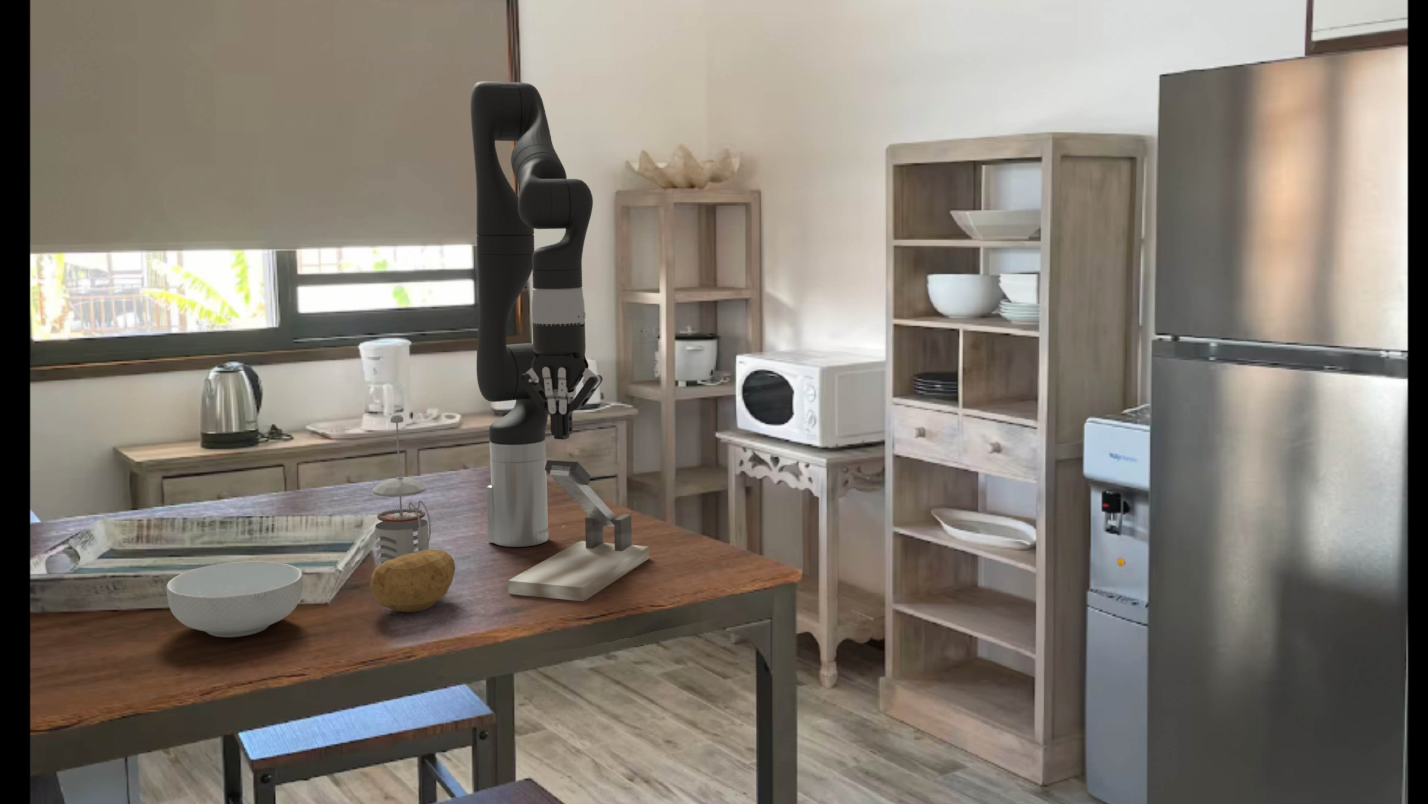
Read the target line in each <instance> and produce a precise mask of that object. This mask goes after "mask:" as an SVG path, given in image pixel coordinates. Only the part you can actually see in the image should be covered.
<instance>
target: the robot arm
mask: <svg viewBox="0 0 1428 804" xmlns="http://www.w3.org/2000/svg"><path fill="white" fill-rule="evenodd" d="M470 95H471V96H470V122H471V135H472V136H471V137H472V144H473V145H472V146H473V157H474V168H475V169H474V170H475V182H476V183H475V184H476V256H477V257H476V258H477V273H478V274H477V275H478V301H479V302H478V304H479V305H478V307H479V308H478V326H477V343H476V344H477V346H476V347H477V348H476V366H475V367H476V379H477V385H478V389H479V392H480V394H481V396H482V397H483V398H484V399H485V400H486V401H488V402H491V403H492V402H493V403H496V402H499V403H500V402H509V401H515V403H514V406H513V408H512V409H511V410H510V411H509V412H508V413H507V414H506V415H504V416H502V417H500V418H499V419H497V420H494V421H493V422H492V423H491V425H489V430H488V432H489V433H488V434H489V435H488V436H489V459H490V460H489V463H490V464H489V465H490V484H489V485H488V486H486V488H485V490H486V492H485V493H486V523H487V542H488V543H491V544H495V545H498V546H502V547H511V548H512V547H513V548H518V547H519V548H521V547H531V546H536V545H540V544H543V543H546V542H548V541H549V523H548V521H549V519H548V517H549V516H548V485H547V483H548V481H547V480H548V479H547V471H546V470H545V466H546V462H547V452H546V450H547V449H546V447H547V446H546V430H547V429H546V428H547V425H548V421H549V420H550V434H551V435H552V436H553V438H554V440H566V439H569V438H570V435H572V433H573V413H574V412H575V411H578V410H579V409H583V408H584V407H585V406H586V405H587V403H588V401H590V399H591V397H592V396H593V395H594V394H595V392H596V391H597V389H598V388H599V386H600V385H601V384H602V382H603V376H602V375H600V374H595V373H594V372H593V371H592V370H591V369H589V363H588V359H587V358H586V349H587V347H586V311H585V308H586V306H585V298H584V293H583V292H584V291H583V269H582V268H583V263H582V262H583V260H582V259H583V252H584V245H585V240H586V237H587V236H586V235H587V232H588V228H589V224H590V221H591V216H592V212H593V207H594V206H593V205H594V204H593V203H594V199H593V193H592V191H591V189H590V186H588V185H587V183H586V182H585V181H583V180H582V179H579V178H578V179H577V178H567V172H566V169H565V167H564V165H563V163H562V161H561V159H560V157H559V155H558V154H557V152H556V150H555V147H554V145H553V140H552V135H551V130H550V127H549V121H548V117H547V114H546V110H545V105H544V101H543V98H542V97H541V94H540V92H539V89H537V87H535V86H534V85H533V84H531V83H527V82H519V81H517V82H513V81H483V80H482V81H478V82H476V83H475V84H474V86H473V87H472V90H471V94H470ZM496 141H498V142H499V141H500V142H516V143H515V145H514V146H513V148H512V151H511V156H510V165H511V169H512V172H513V174H514V176H515V179H516V181H517V183H518V185H519V192H518V194H517V193H516V191H515V190H514V188H513V187H512V185H511V184H510V182H509V180H508V179H507V176H506V175H505V173H504V171H503V169H502V165H501V163H500V161H499V158H498V153H497V147H496ZM560 229H561V230H562V229H563V230H565V232H564V235H563V236H562V239H561V240H560V241H559V242H556V243H553V244H549V245H545V246H542V247H541V246H540V247H538V248H536V249H535V235H534V234H535V230H560ZM531 274H532V300H531V321H532V323H531V325H532V343H531V342H529V343H526V342H524V343H514V344H511V343H510V344H507V336H508V326H509V325H508V324H509V320H510V317H511V313H512V311H513V308H514V306H515V304H516V302H517V300H518V299H519V296H520V295H521V293H522V292H523V290H524V288H525V286H526V285H527V282H528V280H529V279H530V276H531ZM580 382H581V383H582V385H583V386H582V387H581V388H580V390H579V392H578V393H577V386H579V384H580ZM576 393H577V394H576ZM548 414H549V415H550V419H549V418H548V417H549V415H548ZM548 419H549V420H548Z"/></svg>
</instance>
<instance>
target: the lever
mask: <svg viewBox="0 0 1428 804" xmlns="http://www.w3.org/2000/svg"><path fill="white" fill-rule="evenodd" d="M545 470H546V473H547V474H548V475H550V477H552V479H553V481H555V482H556V483H557V484H558V485H559V486H560V487H561V488H562V489H563V490H564V491H565V492H566V494H568V495H569V496H570V497H571V499H572V500H573V501H574V502H575V503H576V504H577V505H578V506H579V507H580V508H581V509H582V510H583V511H584V512H585V513H586V514H587V516H590V517H591V518H592V519H593V520H594V521H595V522H596V524H597V525H598V526H603V527H609V528H610V527H611V528H612V527H613V528H614V519H616V518H618V517H617V515H615V513H614V512H613V511H612V510H611V509H610V508H609V506H607V505H606V504H605V502H604V501H603V499H601V498H600V497H599V496H598V494H596V492H595V491H594V490H593V489H592V488H591V486H589V483H590V479H591V475H590V474H589V473H588V471H587V470H586V469H585V468H584V466H583V465H581V463H579V462H578V461H570V460H569V461H567V460H548V459H546V466H545Z"/></svg>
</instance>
